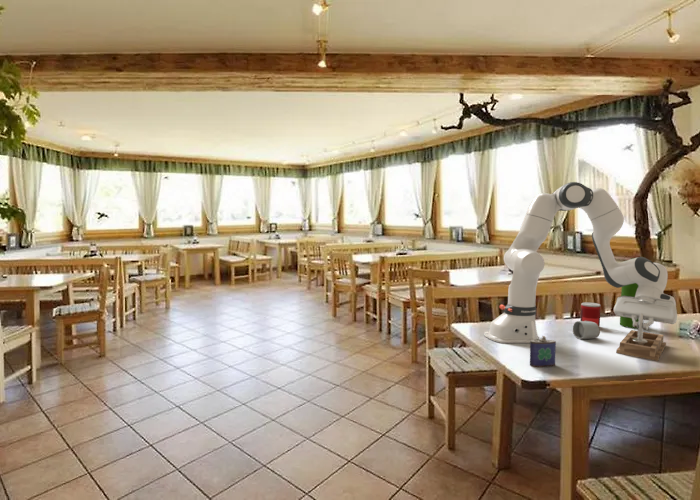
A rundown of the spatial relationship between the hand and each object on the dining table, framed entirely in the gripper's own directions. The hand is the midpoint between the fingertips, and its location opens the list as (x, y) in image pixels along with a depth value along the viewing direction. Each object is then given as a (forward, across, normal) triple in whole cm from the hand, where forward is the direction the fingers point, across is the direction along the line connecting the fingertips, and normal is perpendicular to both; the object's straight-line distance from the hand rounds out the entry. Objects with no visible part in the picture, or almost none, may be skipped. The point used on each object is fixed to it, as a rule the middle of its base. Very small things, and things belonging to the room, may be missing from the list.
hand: (640, 327), depth 159 cm
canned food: (-12, -26, +27) cm, 39 cm away
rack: (+3, 0, +11) cm, 12 cm away
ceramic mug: (+3, -22, +12) cm, 25 cm away
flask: (+36, -19, -22) cm, 46 cm away
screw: (+5, 0, +6) cm, 8 cm away
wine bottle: (-23, -13, +38) cm, 46 cm away
